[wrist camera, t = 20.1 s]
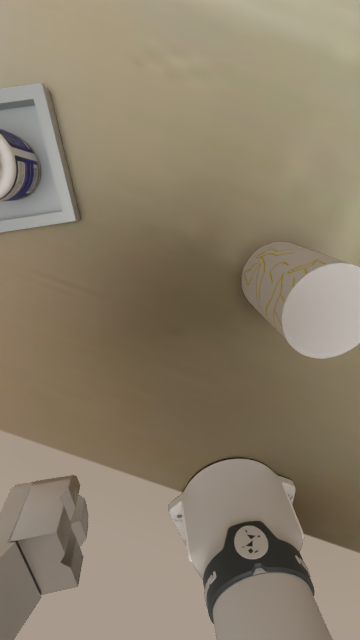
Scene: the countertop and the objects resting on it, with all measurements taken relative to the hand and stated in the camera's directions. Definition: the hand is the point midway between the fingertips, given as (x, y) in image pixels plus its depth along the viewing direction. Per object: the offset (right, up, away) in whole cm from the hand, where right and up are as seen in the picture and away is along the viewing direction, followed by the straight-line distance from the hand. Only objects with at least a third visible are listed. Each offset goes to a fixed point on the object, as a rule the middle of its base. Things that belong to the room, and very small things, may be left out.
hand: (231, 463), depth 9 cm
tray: (-18, +18, +23) cm, 34 cm away
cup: (+10, +9, +29) cm, 32 cm away
